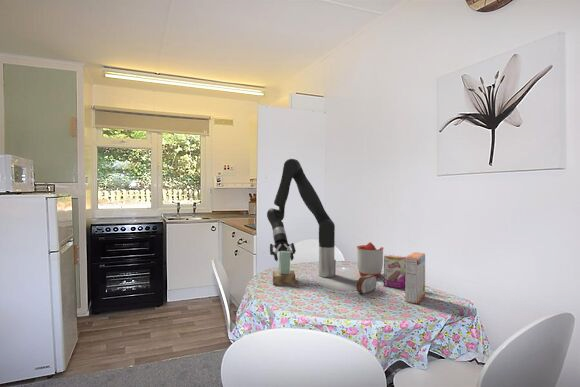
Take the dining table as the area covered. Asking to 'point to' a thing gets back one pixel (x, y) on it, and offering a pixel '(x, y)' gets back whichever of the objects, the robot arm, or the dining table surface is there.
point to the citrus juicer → (369, 260)
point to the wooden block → (283, 278)
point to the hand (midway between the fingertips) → (284, 260)
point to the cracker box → (414, 277)
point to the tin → (366, 283)
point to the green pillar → (284, 262)
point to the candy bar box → (394, 271)
